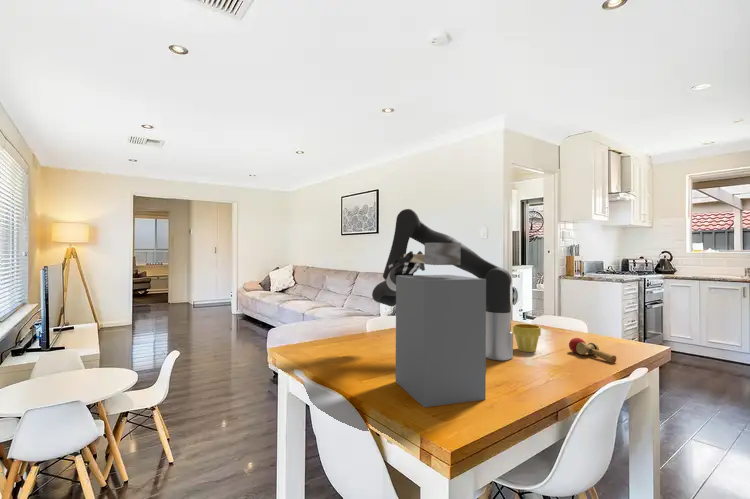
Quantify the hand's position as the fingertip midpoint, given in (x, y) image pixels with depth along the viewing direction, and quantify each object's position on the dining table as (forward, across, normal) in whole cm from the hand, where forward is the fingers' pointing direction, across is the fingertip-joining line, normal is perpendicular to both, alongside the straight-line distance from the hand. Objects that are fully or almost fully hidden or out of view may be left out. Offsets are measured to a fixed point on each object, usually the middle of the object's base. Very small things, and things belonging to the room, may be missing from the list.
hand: (416, 253), depth 124 cm
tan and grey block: (+4, 0, +6) cm, 7 cm away
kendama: (-19, +72, +34) cm, 82 cm away
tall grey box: (-6, 0, +41) cm, 42 cm away
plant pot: (-32, +55, +27) cm, 69 cm away
